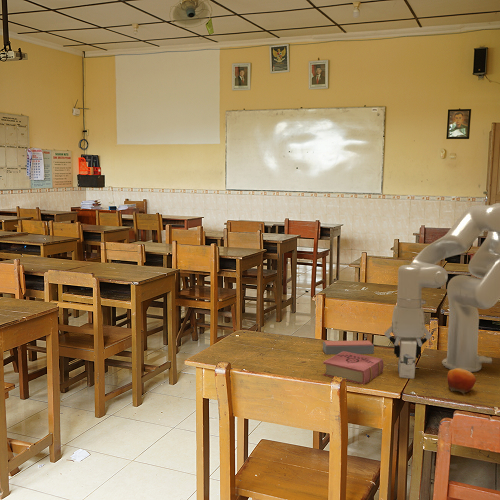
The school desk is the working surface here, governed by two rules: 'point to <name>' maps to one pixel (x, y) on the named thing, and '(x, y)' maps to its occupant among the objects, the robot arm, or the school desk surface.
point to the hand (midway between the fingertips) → (407, 356)
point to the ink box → (407, 357)
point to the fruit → (460, 380)
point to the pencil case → (348, 347)
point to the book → (354, 367)
